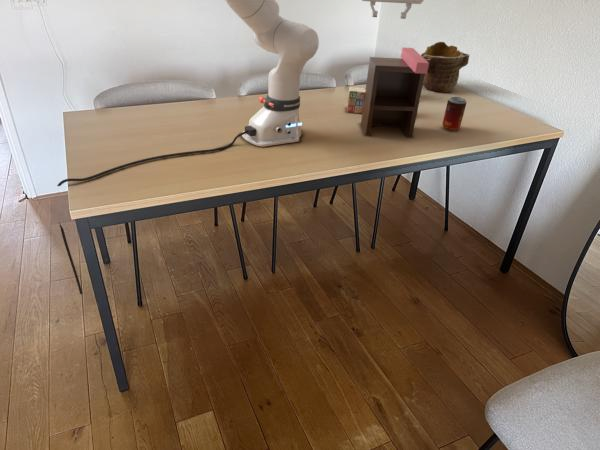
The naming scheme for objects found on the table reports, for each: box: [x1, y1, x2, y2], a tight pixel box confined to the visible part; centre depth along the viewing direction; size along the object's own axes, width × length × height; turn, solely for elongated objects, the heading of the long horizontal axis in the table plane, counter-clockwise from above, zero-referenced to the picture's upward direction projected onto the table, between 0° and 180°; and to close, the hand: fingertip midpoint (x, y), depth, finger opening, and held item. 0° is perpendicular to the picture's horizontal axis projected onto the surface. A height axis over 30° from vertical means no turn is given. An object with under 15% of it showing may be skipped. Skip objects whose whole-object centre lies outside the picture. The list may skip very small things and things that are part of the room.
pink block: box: [400, 47, 429, 74], centre depth 158 cm, size 22×4×4 cm, turn 2°
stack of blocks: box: [346, 86, 366, 114], centre depth 189 cm, size 21×6×12 cm, turn 84°
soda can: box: [442, 96, 468, 132], centre depth 177 cm, size 7×7×12 cm
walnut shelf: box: [360, 56, 425, 138], centre depth 168 cm, size 12×18×26 cm, turn 92°
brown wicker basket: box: [420, 41, 470, 93], centre depth 220 cm, size 23×24×25 cm
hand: (388, 17), depth 145 cm, fingers open, 8 cm apart
